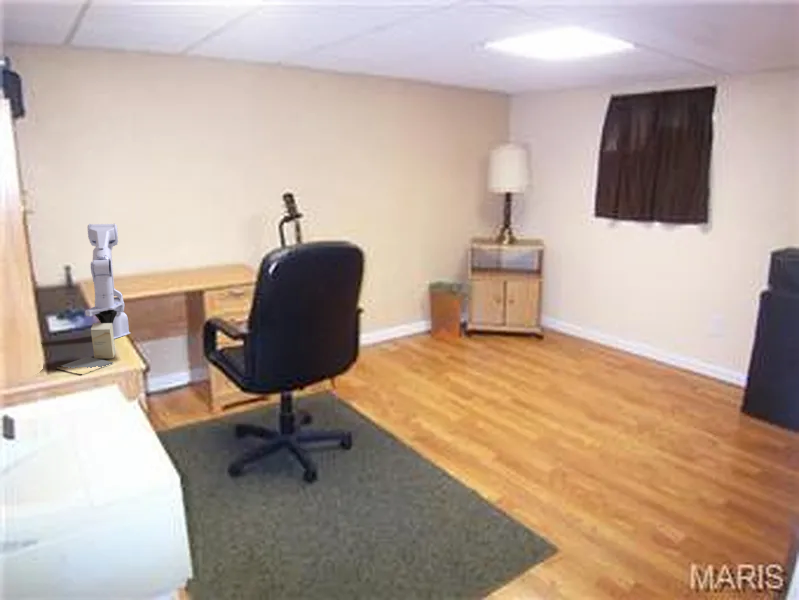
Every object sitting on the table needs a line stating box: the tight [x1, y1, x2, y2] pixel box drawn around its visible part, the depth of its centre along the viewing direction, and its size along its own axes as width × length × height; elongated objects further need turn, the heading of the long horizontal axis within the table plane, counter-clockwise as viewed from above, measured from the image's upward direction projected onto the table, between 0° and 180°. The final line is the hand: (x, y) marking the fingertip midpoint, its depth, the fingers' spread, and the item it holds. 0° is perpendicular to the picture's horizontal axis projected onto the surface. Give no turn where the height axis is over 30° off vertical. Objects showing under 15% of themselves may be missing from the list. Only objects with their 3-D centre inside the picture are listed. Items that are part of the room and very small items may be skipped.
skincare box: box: [90, 322, 116, 360], centre depth 199 cm, size 6×4×12 cm
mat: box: [61, 356, 114, 368], centre depth 192 cm, size 12×12×1 cm
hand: (107, 331), depth 201 cm, fingers closed
